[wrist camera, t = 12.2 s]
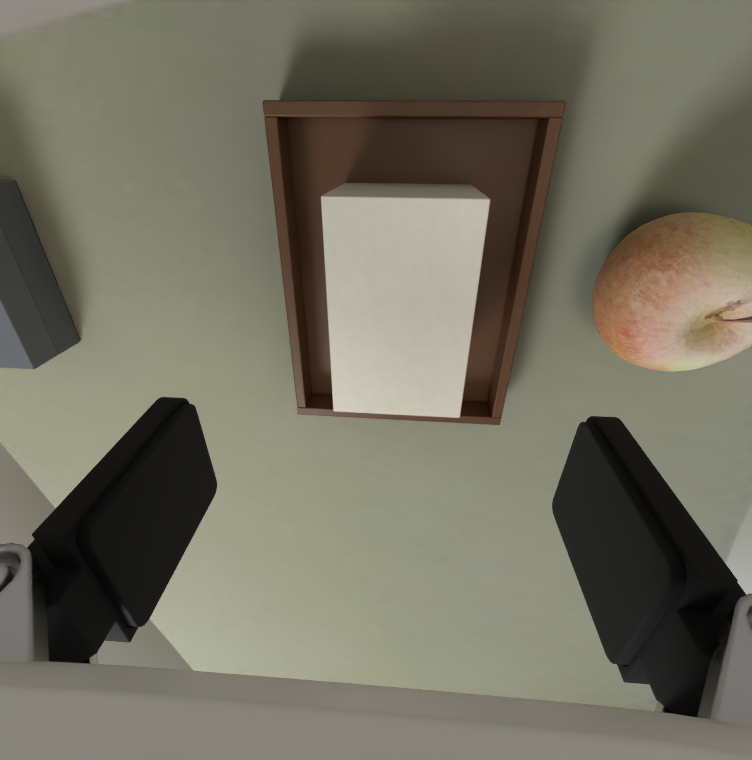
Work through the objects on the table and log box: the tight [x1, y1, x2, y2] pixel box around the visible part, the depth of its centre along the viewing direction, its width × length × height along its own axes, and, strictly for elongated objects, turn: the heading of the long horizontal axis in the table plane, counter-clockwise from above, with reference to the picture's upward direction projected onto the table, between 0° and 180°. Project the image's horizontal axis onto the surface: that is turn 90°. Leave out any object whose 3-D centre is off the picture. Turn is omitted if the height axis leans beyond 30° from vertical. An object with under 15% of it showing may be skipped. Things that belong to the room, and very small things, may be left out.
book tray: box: [263, 100, 566, 425], centre depth 23 cm, size 17×13×2 cm
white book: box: [321, 190, 490, 418], centre depth 19 cm, size 10×7×2 cm, turn 0°
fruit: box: [593, 212, 752, 371], centre depth 19 cm, size 8×7×8 cm
